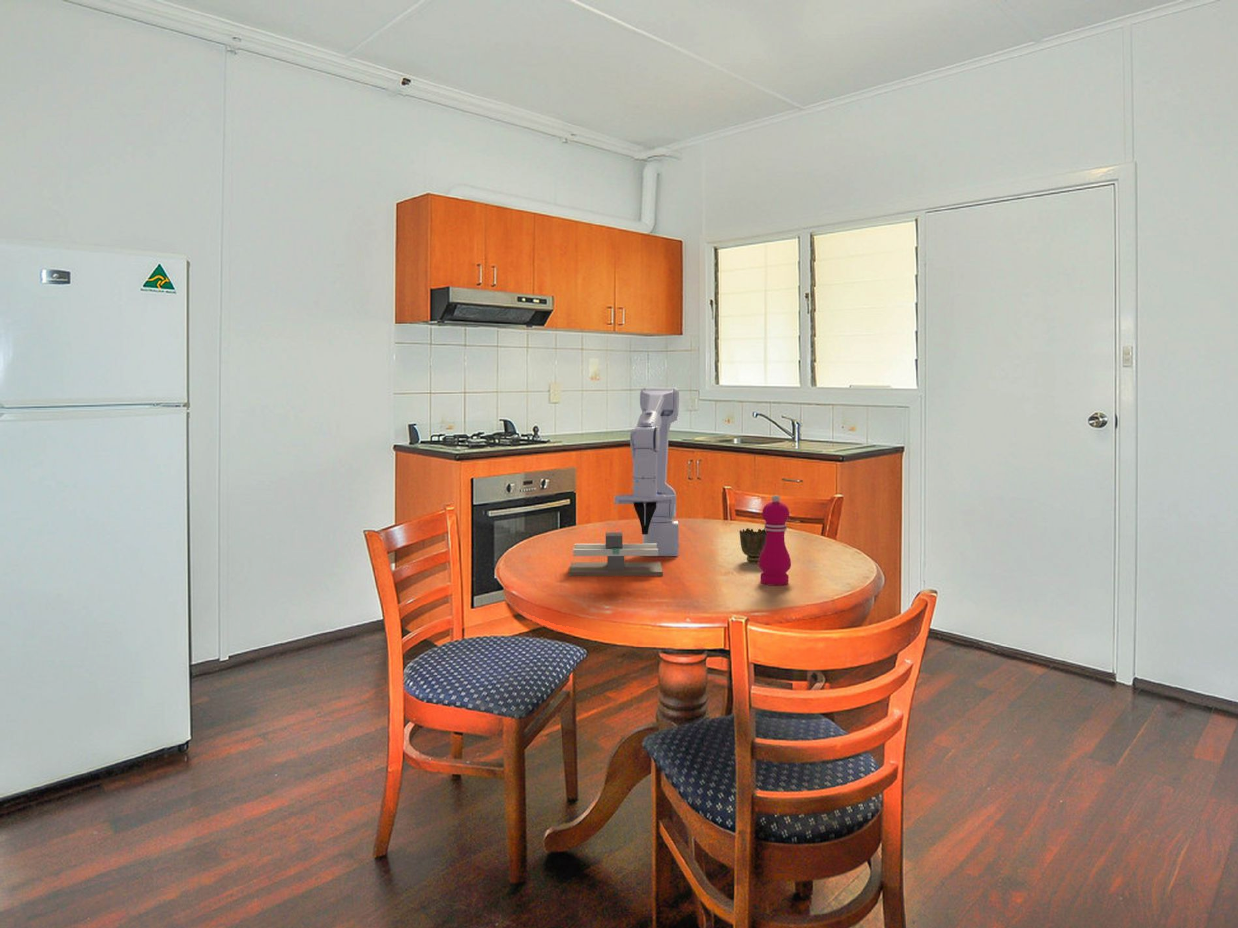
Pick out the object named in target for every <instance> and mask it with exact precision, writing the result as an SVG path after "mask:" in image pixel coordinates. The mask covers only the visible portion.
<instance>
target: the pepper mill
mask: <svg viewBox="0 0 1238 928" xmlns="http://www.w3.org/2000/svg"><path fill="white" fill-rule="evenodd" d="M780 500H781V498H780V496H779V495H778V494H774V495H773V496H772V498H771V501H770V502H767V503H766V504H765V505H764V506H763V508H762V510H761V511H762V512H761V516H762V518H763V520H764V521H765V522H764V527H763V529H765V530H766V542H765V546H764V548H763V550H762V552H761V554H760V557H759V563H758V567H759V568H760V570H761V571H762V572H761V573H760V583H762V584H763V585H768V586H786V585H787V584H789V574H788V573H787V572H788V571H789V570H790V569H791V566H792V560H791V556H790V553H789V551H788V549H787V547H786V542H785V535H786V534H785V532H786V531H787V530H788V529H787V526H788V524H787V521H788V519H789V518H790V510H789V508H788V506H787V505H786V504H785V503H783V502H781V501H780Z"/></svg>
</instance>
